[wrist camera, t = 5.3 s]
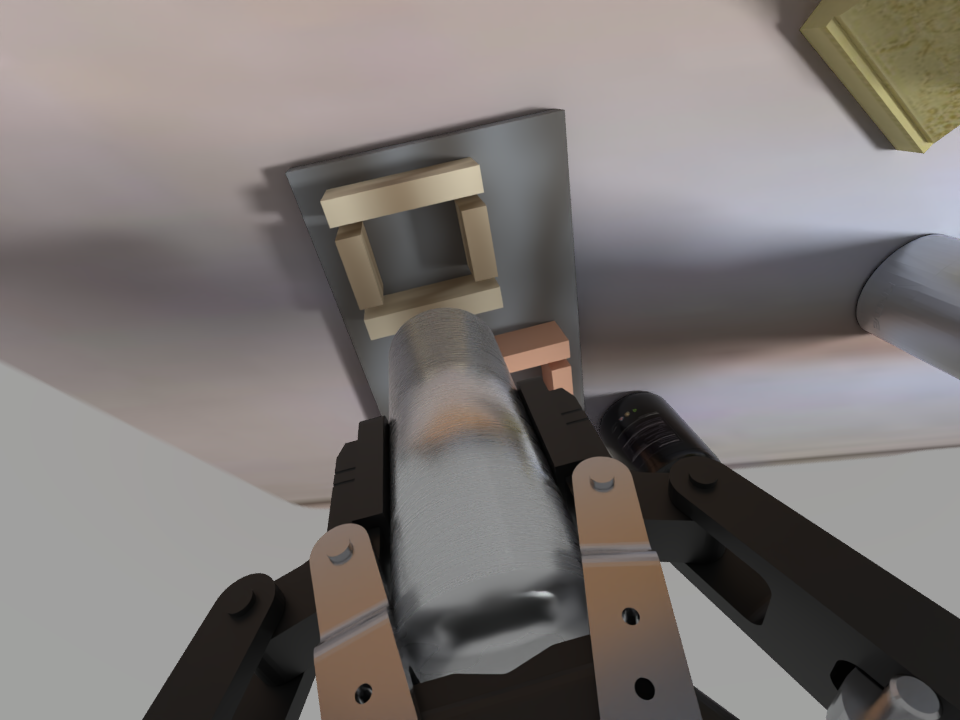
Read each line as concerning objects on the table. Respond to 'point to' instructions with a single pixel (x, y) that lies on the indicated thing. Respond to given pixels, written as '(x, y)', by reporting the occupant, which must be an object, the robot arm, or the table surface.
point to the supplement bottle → (649, 434)
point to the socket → (539, 353)
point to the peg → (473, 508)
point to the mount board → (448, 235)
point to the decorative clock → (895, 63)
